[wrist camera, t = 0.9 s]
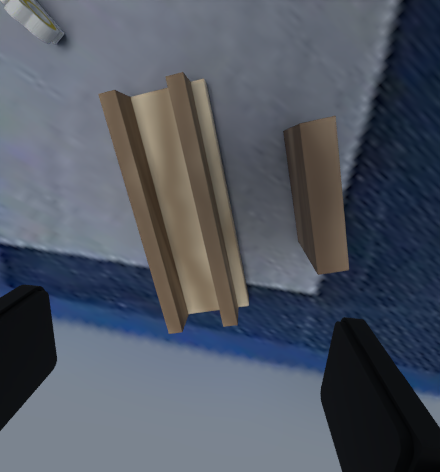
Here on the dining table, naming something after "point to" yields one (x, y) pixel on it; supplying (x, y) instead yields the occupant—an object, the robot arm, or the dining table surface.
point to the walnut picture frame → (318, 193)
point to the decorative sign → (34, 19)
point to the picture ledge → (179, 198)
